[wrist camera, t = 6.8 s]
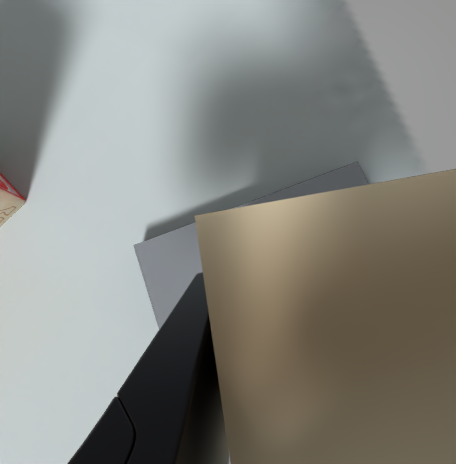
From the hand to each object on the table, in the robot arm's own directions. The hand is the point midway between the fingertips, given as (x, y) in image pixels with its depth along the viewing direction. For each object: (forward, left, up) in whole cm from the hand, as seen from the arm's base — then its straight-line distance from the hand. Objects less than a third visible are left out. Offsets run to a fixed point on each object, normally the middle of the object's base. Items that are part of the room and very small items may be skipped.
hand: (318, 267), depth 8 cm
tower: (-1, 0, -8) cm, 8 cm away
